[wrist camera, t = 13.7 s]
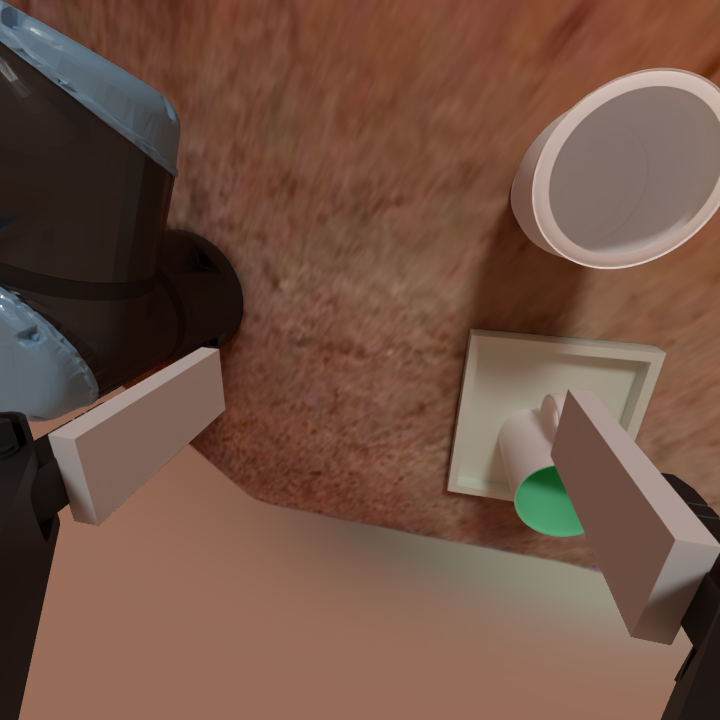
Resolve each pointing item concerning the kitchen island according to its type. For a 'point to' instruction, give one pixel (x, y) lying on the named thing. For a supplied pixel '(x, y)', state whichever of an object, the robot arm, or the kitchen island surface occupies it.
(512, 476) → the mug
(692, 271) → the kitchen island surface
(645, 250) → the jar
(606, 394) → the tray
